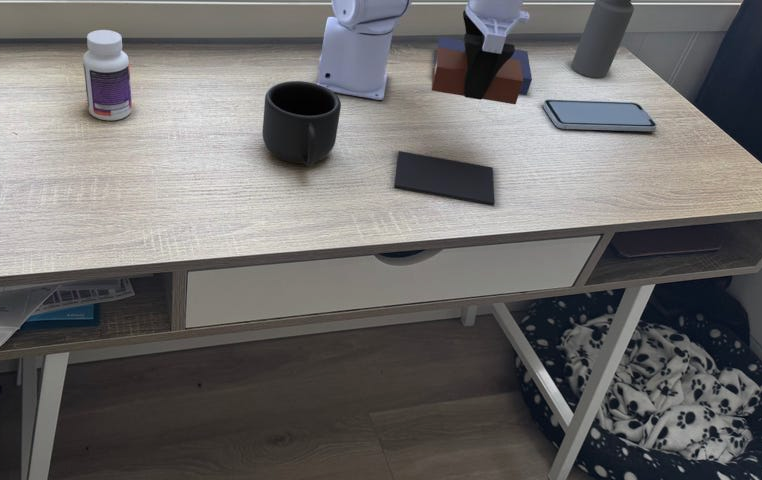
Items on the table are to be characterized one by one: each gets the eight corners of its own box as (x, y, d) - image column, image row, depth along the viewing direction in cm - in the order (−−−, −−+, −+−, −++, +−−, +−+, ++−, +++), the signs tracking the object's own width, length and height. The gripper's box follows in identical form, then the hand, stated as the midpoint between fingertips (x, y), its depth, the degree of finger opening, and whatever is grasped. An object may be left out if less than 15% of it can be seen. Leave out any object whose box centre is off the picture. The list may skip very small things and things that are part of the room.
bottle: (578, 58, 121) (614, -37, 111) (612, 70, 119) (652, -25, 109) (565, 69, 118) (601, -28, 107) (600, 81, 115) (640, -16, 105)
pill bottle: (140, 113, 94) (137, 39, 87) (105, 126, 91) (98, 50, 84) (115, 96, 96) (109, 23, 89) (79, 108, 93) (71, 33, 86)
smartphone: (541, 98, 107) (638, 102, 109) (539, 105, 108) (635, 108, 110) (558, 124, 102) (659, 127, 104) (556, 130, 102) (657, 133, 104)
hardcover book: (433, 79, 110) (437, 63, 108) (435, 51, 117) (439, 36, 116) (526, 95, 109) (532, 79, 108) (522, 66, 117) (527, 51, 115)
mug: (256, 131, 93) (260, 79, 89) (325, 131, 95) (332, 80, 90) (270, 185, 85) (275, 131, 80) (345, 184, 87) (354, 131, 82)
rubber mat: (394, 187, 88) (394, 185, 87) (398, 153, 93) (398, 150, 93) (494, 205, 87) (494, 202, 87) (491, 169, 93) (492, 167, 93)
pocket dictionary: (431, 90, 87) (437, 66, 85) (432, 70, 91) (437, 47, 89) (515, 104, 86) (523, 80, 84) (512, 83, 90) (520, 60, 88)
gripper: (549, -2, 74) (509, 120, 83) (536, -47, 84) (502, 65, 93) (479, -13, 74) (447, 109, 83) (475, -57, 84) (447, 56, 94)
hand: (472, 85), depth 88 cm, fingers closed on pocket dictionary, 5 cm apart
